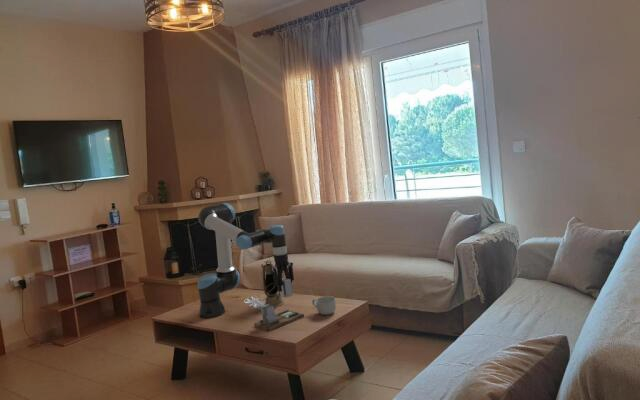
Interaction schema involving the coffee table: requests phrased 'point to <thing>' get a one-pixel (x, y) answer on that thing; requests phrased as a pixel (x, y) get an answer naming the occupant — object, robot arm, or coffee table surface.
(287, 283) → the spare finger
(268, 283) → the lantern
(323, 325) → the coffee table surface
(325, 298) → the teacup
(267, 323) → the finger rail
